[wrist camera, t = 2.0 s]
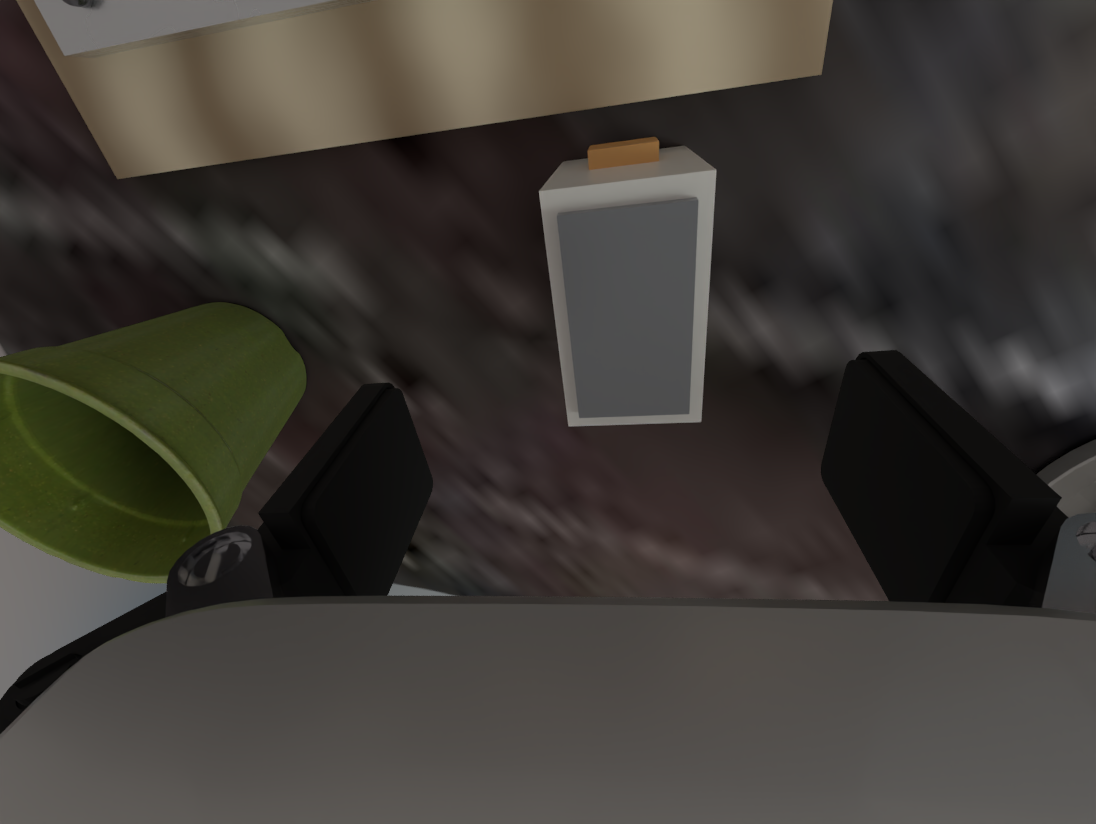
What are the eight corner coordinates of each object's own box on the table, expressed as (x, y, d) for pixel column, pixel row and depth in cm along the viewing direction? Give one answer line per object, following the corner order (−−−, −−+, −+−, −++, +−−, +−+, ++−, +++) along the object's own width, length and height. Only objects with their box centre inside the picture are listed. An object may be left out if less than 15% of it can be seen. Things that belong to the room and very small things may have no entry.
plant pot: (202, 434, 32) (32, 574, 23) (109, 256, 25) (-187, 351, 16) (369, 445, 31) (261, 599, 21) (317, 261, 24) (126, 366, 15)
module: (684, 128, 19) (720, 146, 12) (679, 337, 24) (702, 428, 17) (561, 145, 20) (533, 170, 13) (580, 343, 25) (567, 432, 18)
